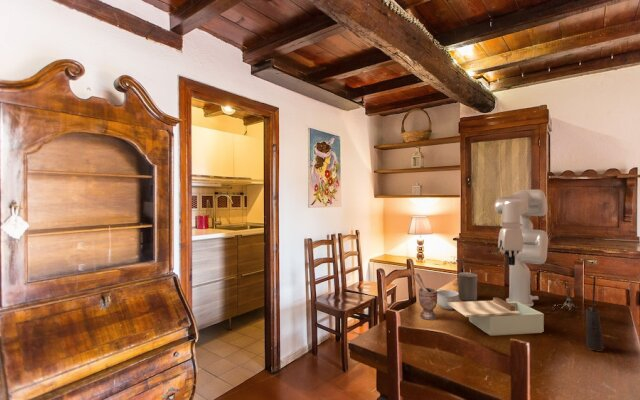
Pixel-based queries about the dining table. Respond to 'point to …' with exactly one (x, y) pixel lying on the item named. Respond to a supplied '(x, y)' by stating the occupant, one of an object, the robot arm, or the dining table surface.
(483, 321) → the box
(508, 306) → the lid
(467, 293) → the pillar candle
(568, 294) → the eiffel tower figurine
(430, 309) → the mortar and pestle
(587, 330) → the butter churn
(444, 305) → the teacup
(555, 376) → the dining table surface
